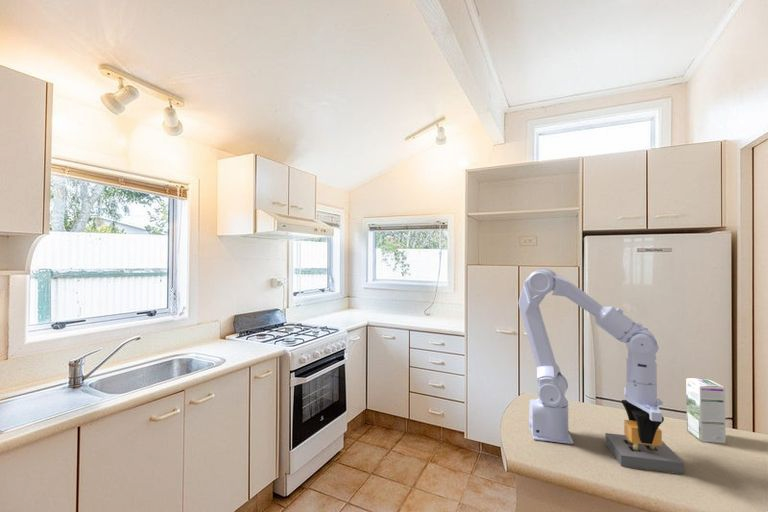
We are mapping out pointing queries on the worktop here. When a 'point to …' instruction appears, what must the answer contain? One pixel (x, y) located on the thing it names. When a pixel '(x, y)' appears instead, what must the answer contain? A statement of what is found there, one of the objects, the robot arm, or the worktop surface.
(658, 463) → the socket
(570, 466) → the worktop surface
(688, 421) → the syrup box
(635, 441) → the plug
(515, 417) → the worktop surface
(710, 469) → the worktop surface
